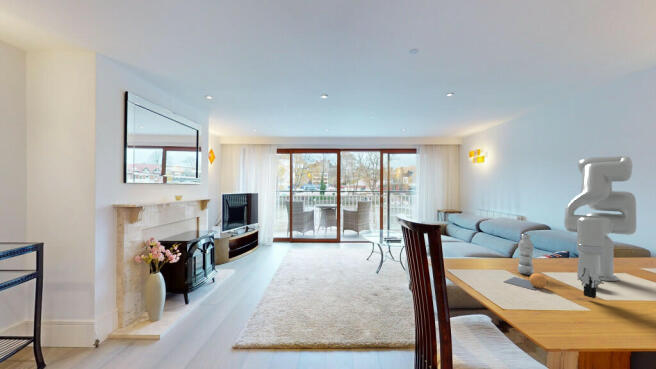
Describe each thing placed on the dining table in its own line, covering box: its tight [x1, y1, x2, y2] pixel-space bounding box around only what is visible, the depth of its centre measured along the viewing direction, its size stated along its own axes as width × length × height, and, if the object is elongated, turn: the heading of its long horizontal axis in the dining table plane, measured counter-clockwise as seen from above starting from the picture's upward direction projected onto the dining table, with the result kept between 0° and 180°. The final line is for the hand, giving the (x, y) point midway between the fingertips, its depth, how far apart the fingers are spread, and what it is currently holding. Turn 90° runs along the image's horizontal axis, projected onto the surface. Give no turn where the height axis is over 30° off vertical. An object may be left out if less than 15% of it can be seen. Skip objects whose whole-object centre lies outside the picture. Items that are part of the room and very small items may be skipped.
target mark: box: [503, 276, 539, 291], centre depth 123 cm, size 12×12×1 cm
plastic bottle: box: [517, 233, 535, 276], centre depth 136 cm, size 6×7×20 cm
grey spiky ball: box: [577, 276, 605, 288], centre depth 120 cm, size 9×8×10 cm
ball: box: [528, 272, 548, 289], centre depth 118 cm, size 6×6×6 cm
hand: (589, 296), depth 105 cm, fingers closed
